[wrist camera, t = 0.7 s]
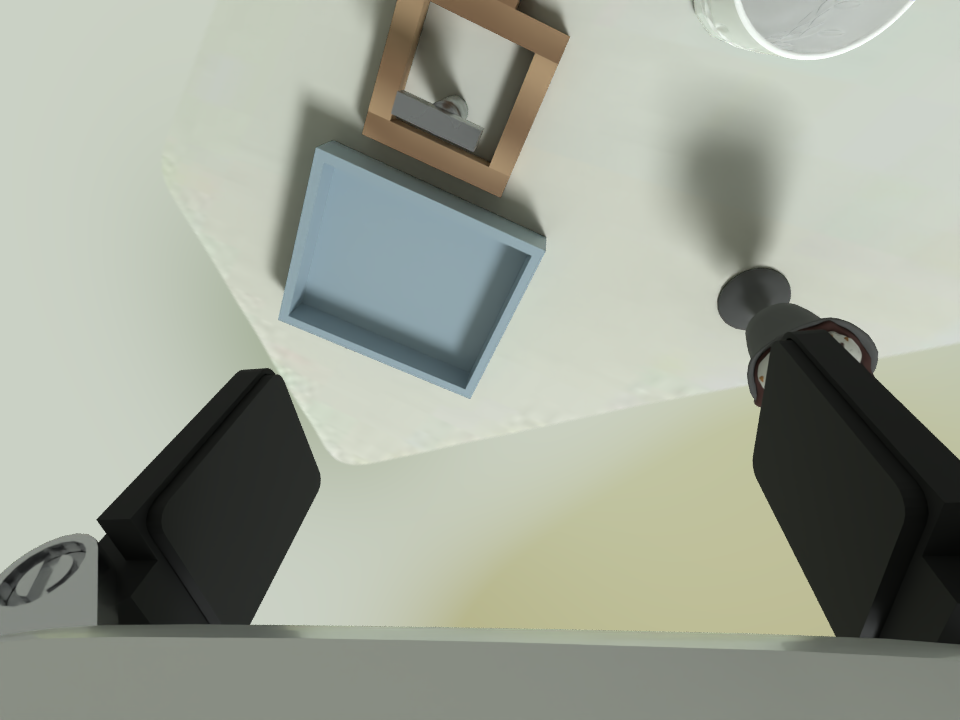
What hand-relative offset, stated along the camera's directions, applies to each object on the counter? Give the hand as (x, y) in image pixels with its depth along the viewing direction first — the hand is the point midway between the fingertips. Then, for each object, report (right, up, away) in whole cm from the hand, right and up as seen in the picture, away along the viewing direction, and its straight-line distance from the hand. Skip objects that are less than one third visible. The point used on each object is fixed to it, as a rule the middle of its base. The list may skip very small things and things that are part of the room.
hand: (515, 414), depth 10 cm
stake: (-2, +17, +24) cm, 30 cm away
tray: (-6, +8, +30) cm, 32 cm away
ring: (-1, +20, +22) cm, 30 cm away
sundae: (+19, +6, +28) cm, 35 cm away
